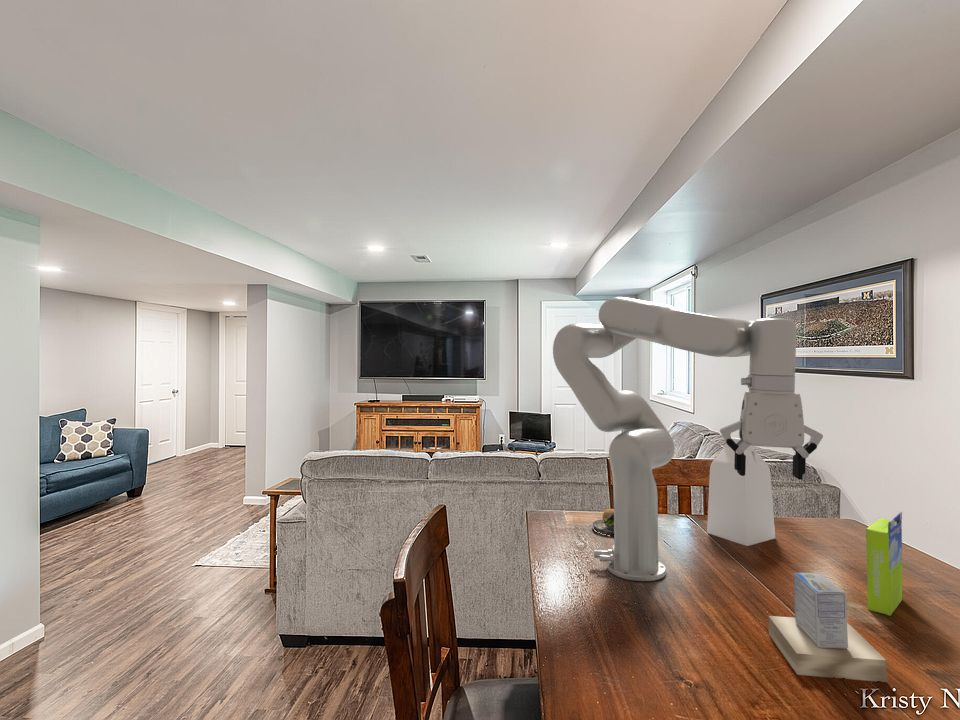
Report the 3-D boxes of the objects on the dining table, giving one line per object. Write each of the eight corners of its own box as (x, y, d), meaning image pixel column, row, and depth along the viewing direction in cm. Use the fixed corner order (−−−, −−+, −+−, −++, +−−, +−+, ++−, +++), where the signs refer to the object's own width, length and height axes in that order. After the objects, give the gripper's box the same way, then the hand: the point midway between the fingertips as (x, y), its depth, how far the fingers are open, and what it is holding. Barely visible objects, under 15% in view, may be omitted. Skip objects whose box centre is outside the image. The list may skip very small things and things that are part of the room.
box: (879, 593, 107) (878, 507, 107) (905, 599, 104) (903, 511, 104) (865, 610, 100) (864, 517, 100) (892, 617, 97) (891, 522, 97)
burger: (612, 540, 141) (612, 512, 141) (583, 528, 151) (583, 502, 151) (645, 533, 147) (645, 506, 147) (615, 522, 157) (615, 497, 157)
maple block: (797, 680, 80) (796, 653, 80) (769, 639, 92) (768, 615, 92) (887, 687, 78) (886, 660, 78) (846, 644, 90) (845, 620, 90)
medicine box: (849, 650, 81) (847, 593, 81) (817, 648, 81) (816, 591, 81) (823, 624, 88) (822, 572, 88) (794, 623, 89) (793, 571, 89)
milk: (707, 532, 146) (705, 437, 146) (734, 526, 151) (733, 434, 151) (747, 546, 135) (745, 443, 135) (775, 538, 140) (773, 439, 141)
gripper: (726, 384, 98) (723, 477, 98) (831, 387, 94) (828, 484, 94) (717, 382, 105) (715, 468, 105) (815, 384, 101) (812, 474, 102)
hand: (768, 475), depth 100 cm, fingers open, 9 cm apart
